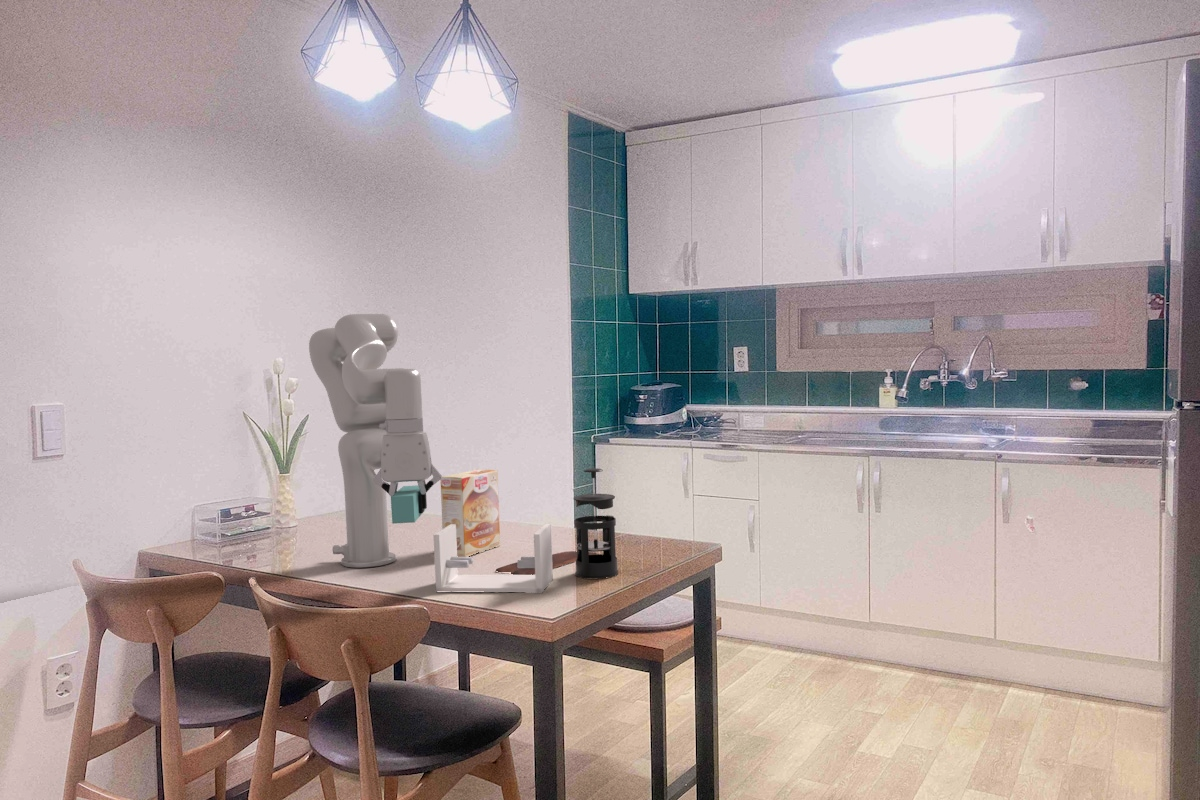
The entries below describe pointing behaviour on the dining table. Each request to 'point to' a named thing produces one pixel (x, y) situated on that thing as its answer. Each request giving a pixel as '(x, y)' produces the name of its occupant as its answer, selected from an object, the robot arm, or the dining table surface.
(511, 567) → the wooden tablet
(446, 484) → the coffeecake box
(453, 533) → the peg frame
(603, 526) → the french press
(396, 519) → the plank
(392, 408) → the robot arm
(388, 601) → the dining table surface
